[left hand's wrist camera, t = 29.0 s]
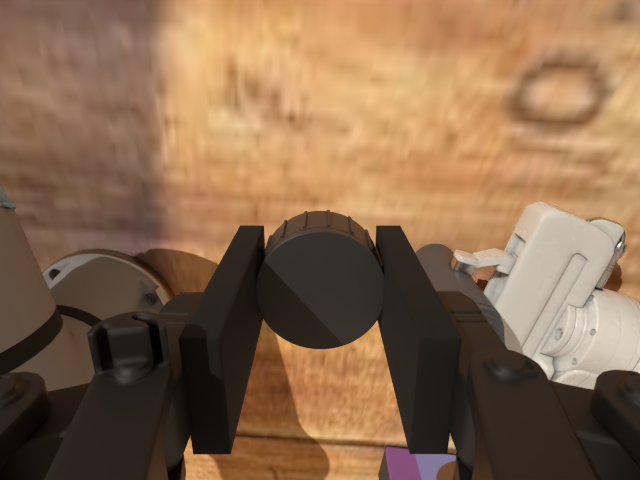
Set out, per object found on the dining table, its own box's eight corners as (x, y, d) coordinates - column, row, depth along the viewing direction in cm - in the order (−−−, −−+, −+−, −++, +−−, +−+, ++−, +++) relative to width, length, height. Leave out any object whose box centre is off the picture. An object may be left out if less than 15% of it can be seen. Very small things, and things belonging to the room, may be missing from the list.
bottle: (464, 256, 45) (547, 359, 28) (438, 291, 46) (504, 408, 30) (427, 235, 44) (491, 329, 28) (402, 271, 46) (449, 381, 29)
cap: (327, 183, 13) (328, 200, 11) (403, 270, 14) (415, 299, 12) (238, 258, 14) (225, 286, 12) (314, 336, 15) (314, 372, 13)
